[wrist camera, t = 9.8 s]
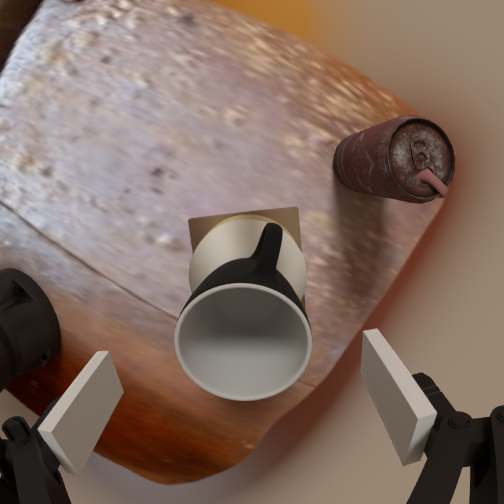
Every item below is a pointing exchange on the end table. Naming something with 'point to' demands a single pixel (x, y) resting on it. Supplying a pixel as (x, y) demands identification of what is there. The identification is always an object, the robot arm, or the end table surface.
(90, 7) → the end table surface
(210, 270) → the stand
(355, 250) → the end table surface
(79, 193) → the end table surface
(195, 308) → the mug
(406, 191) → the can
